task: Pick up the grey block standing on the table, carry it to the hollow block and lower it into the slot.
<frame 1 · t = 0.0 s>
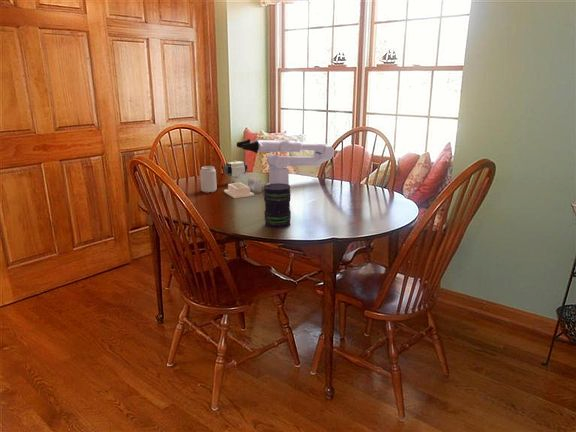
hand: (239, 145, 226), 22 cm above the table, tool horizontal, fingers open, 7 cm apart
pneumatic valve: (236, 183, 247), on the table
can: (209, 191, 231), on the table
storage jar: (277, 225, 179), on the table
grey block: (254, 191, 231), on the table
hollow block: (238, 193, 225), on the table
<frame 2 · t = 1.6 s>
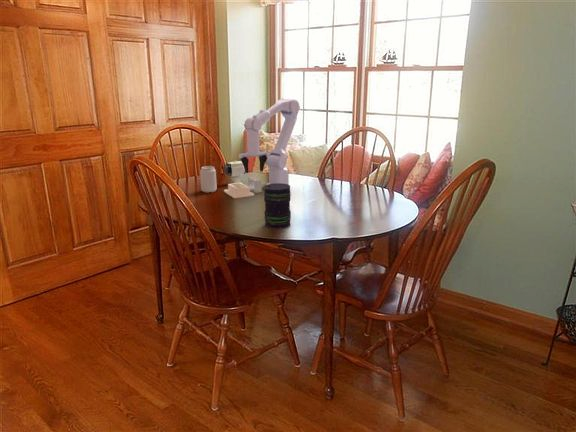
hand: (254, 171, 228), 9 cm above the table, tool pointing down, fingers open, 7 cm apart
nothing on the table moved.
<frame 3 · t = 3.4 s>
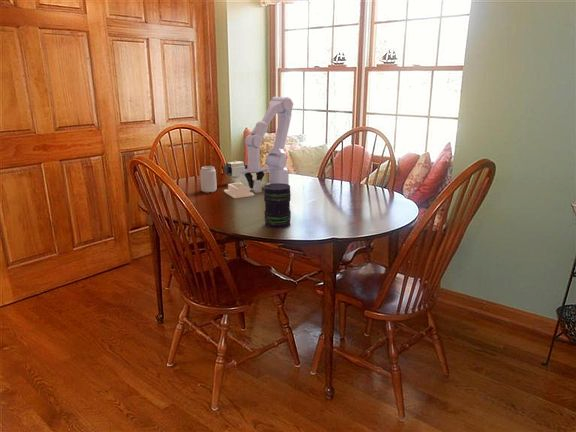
hand: (254, 187, 230), 2 cm above the table, tool pointing down, fingers closed on grey block, 3 cm apart
grey block: (254, 190, 231), on the table, touching gripper
everything else where it was.
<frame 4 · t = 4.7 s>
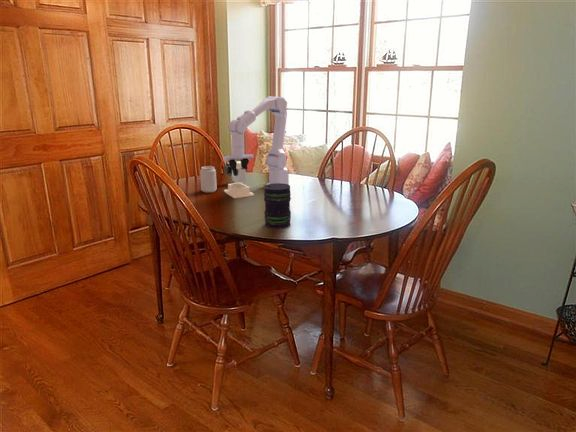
hand: (239, 175, 223), 9 cm above the table, tool pointing down, fingers closed on grey block, 3 cm apart
grey block: (239, 180, 224), point 6 cm above the table, touching gripper
everything else where it was.
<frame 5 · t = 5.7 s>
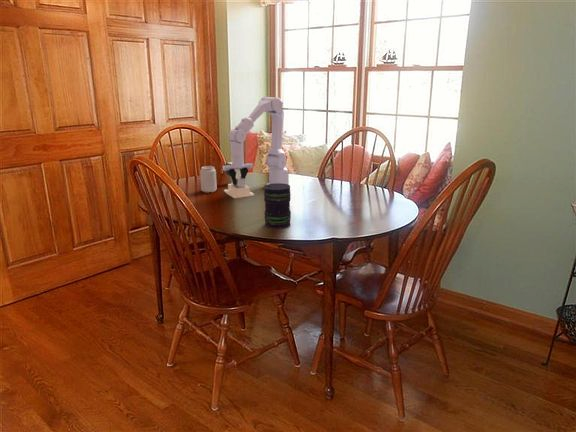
hand: (238, 184, 224), 5 cm above the table, tool pointing down, fingers closed on grey block, 3 cm apart
grey block: (238, 189, 225), point 2 cm above the table, touching gripper
everything else where it was.
when the fingers open (5 cm above the table, at t = 6.3 s): grey block stays where it is, resting on hollow block.
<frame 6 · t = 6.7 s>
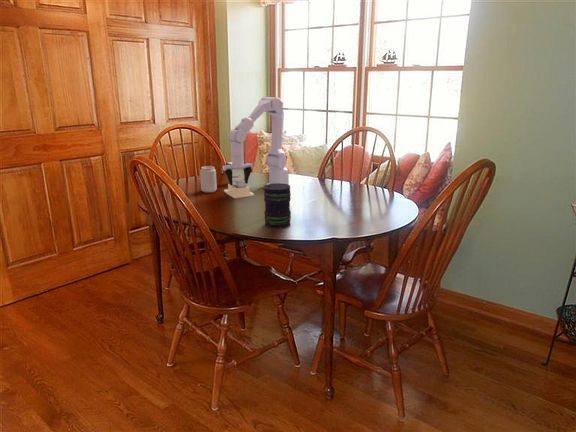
hand: (238, 184, 224), 5 cm above the table, tool pointing down, fingers open, 7 cm apart
grey block: (238, 191, 225), point 1 cm above the table, touching hollow block
everything else where it was.
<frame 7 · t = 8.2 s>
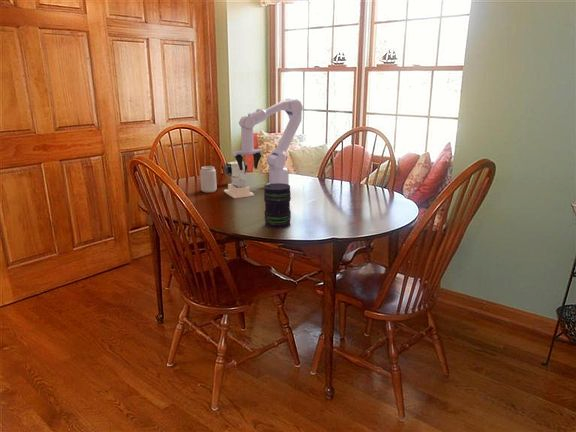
hand: (248, 169, 232), 10 cm above the table, tool pointing down, fingers open, 7 cm apart
nothing on the table moved.
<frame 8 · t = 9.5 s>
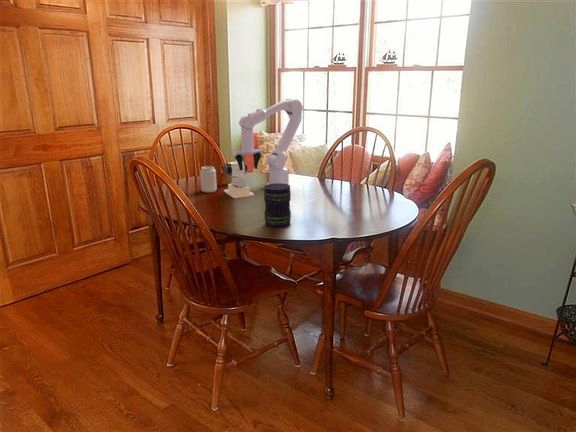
hand: (248, 169, 232), 10 cm above the table, tool pointing down, fingers open, 7 cm apart
nothing on the table moved.
at the end: grey block 0.0 cm off-centre on the hollow block, point 1.0 cm above the hollow block's base; grey block tilted 0° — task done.
